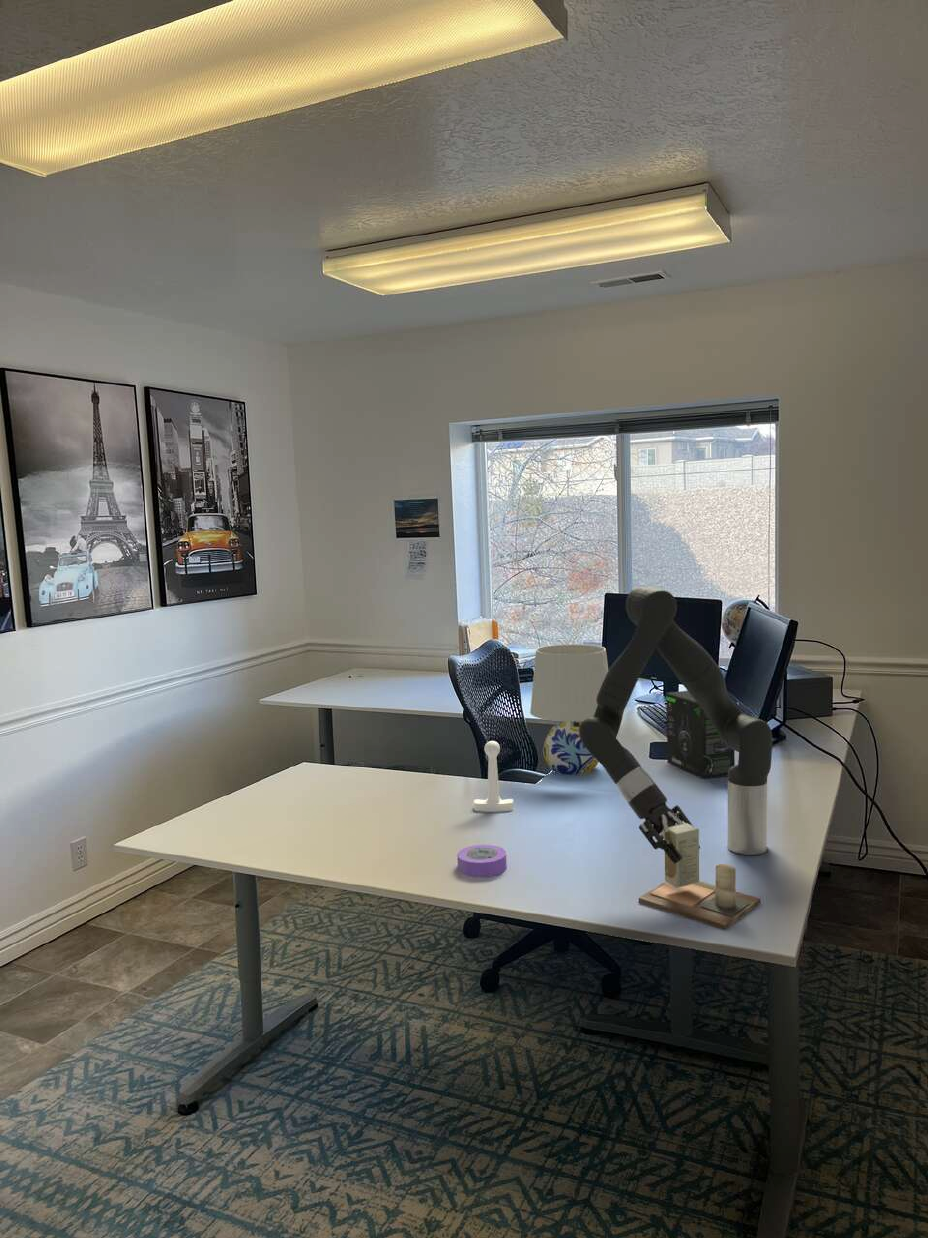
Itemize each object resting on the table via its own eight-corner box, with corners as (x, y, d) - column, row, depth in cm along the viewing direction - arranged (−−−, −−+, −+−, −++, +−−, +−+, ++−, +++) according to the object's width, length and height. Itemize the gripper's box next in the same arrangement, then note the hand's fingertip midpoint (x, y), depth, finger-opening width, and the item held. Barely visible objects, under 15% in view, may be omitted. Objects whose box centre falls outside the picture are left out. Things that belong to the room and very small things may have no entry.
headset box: (665, 761, 297) (665, 686, 294) (696, 758, 301) (696, 683, 298) (702, 780, 276) (702, 698, 273) (736, 775, 279) (736, 695, 276)
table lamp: (612, 782, 275) (611, 656, 271) (526, 780, 281) (523, 655, 276) (615, 759, 302) (614, 643, 297) (536, 757, 307) (534, 643, 303)
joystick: (474, 812, 252) (472, 743, 250) (475, 803, 260) (473, 736, 257) (513, 811, 251) (511, 742, 249) (513, 803, 259) (511, 736, 257)
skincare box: (687, 876, 195) (687, 822, 193) (699, 883, 191) (700, 828, 189) (663, 881, 192) (663, 826, 191) (675, 888, 188) (675, 833, 187)
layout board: (676, 879, 202) (676, 839, 201) (760, 903, 188) (761, 861, 187) (638, 902, 190) (638, 860, 189) (725, 930, 177) (725, 885, 175)
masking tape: (447, 869, 212) (447, 854, 211) (481, 855, 220) (481, 840, 220) (482, 882, 204) (482, 866, 203) (516, 867, 212) (516, 852, 211)
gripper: (633, 791, 189) (682, 857, 182) (668, 776, 199) (715, 837, 193) (613, 810, 193) (659, 875, 187) (647, 794, 204) (693, 855, 197)
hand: (687, 855), depth 190 cm, fingers closed on skincare box, 7 cm apart
